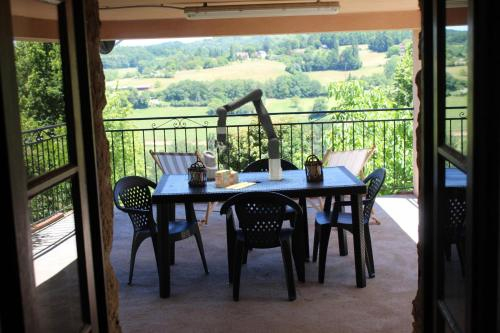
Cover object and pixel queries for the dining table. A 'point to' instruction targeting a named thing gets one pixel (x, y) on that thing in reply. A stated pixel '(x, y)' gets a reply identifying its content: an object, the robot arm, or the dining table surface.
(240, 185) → the oak board
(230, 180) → the stack of blocks
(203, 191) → the dining table surface
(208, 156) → the juicer
